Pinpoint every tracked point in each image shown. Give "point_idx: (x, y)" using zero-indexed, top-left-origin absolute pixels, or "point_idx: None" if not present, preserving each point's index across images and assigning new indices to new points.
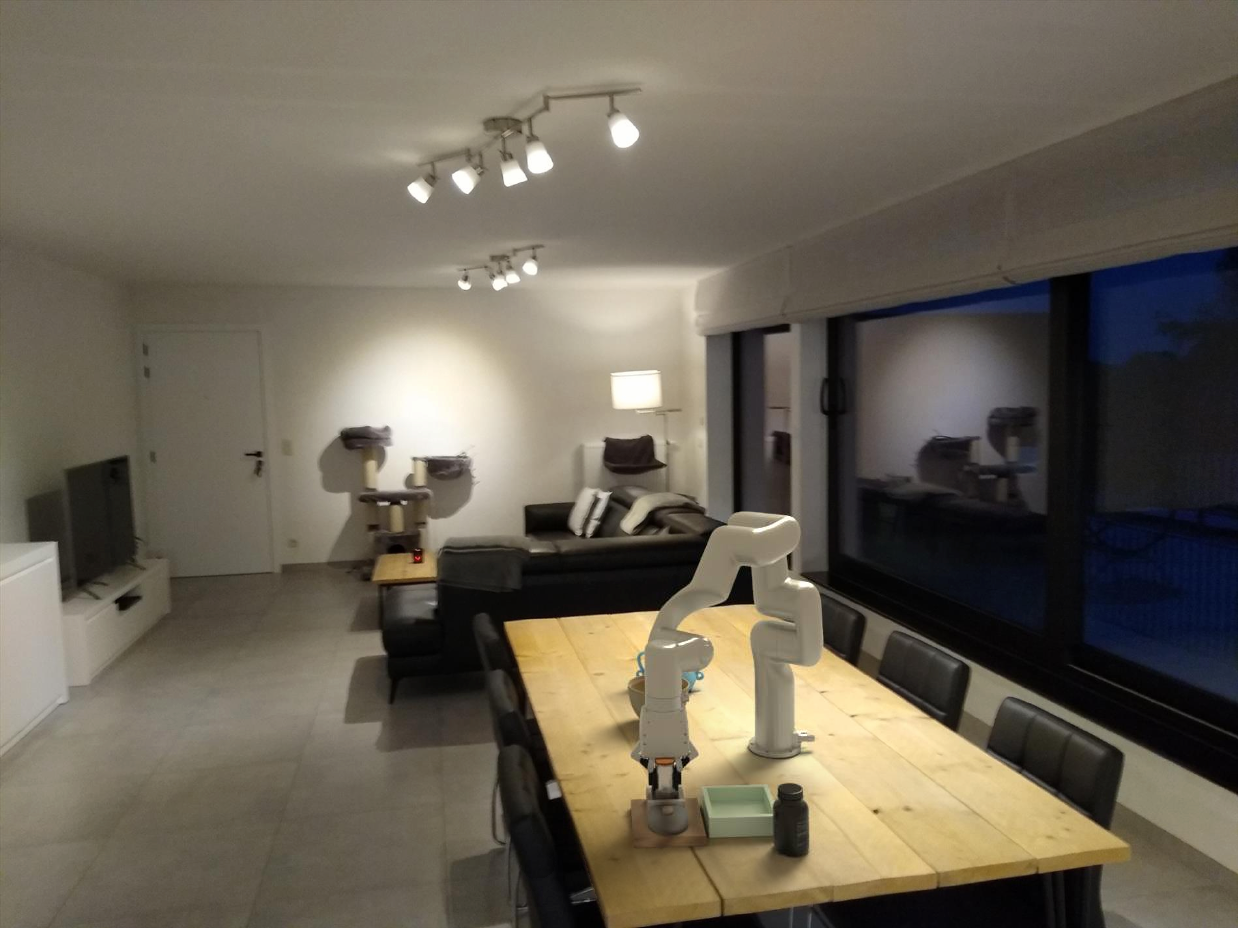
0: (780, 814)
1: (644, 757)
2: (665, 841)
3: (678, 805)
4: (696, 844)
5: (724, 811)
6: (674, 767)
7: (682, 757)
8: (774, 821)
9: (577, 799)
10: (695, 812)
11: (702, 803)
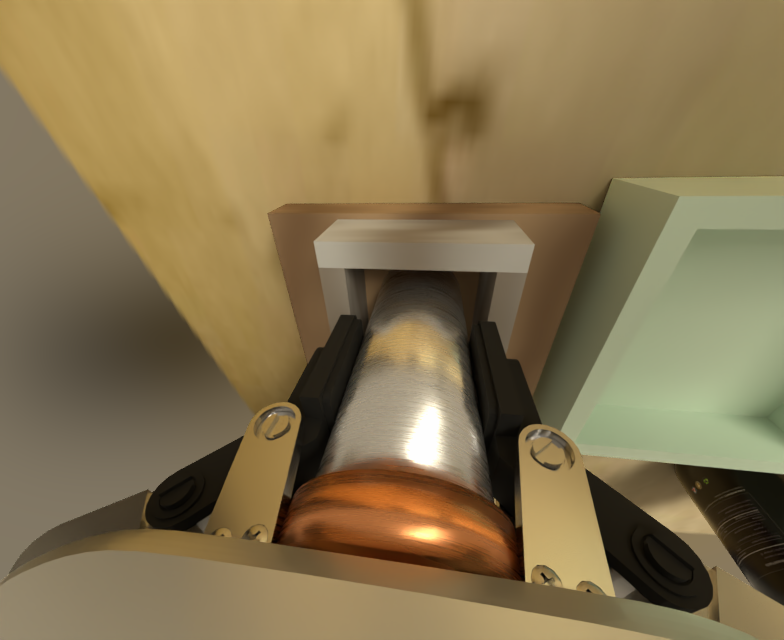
0: None
1: (196, 524)
2: None
3: None
4: None
5: (668, 303)
6: (493, 423)
7: (608, 558)
8: (738, 555)
9: (31, 93)
10: (531, 342)
11: (607, 231)
